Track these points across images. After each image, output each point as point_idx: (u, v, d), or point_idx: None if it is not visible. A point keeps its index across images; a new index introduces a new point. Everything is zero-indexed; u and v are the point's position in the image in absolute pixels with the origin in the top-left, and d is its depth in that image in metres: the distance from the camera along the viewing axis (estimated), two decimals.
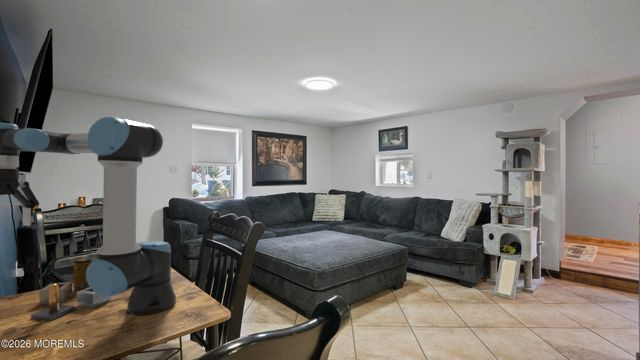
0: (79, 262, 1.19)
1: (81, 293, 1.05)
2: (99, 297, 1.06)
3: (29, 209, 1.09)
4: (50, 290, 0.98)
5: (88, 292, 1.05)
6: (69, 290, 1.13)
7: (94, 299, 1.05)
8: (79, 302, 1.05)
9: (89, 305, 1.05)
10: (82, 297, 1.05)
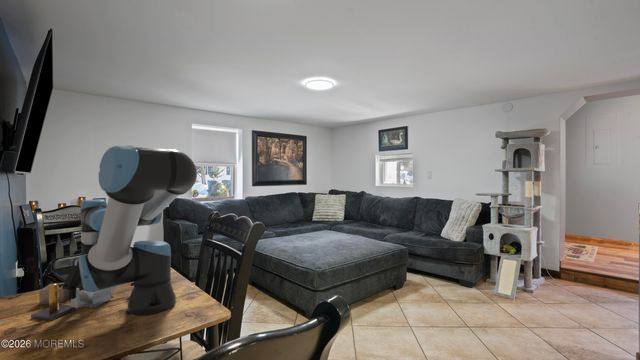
0: None
1: (81, 293, 1.05)
2: (99, 297, 1.06)
3: None
4: (50, 290, 0.98)
5: (88, 292, 1.05)
6: None
7: (94, 299, 1.05)
8: None
9: (89, 305, 1.05)
10: (82, 297, 1.05)
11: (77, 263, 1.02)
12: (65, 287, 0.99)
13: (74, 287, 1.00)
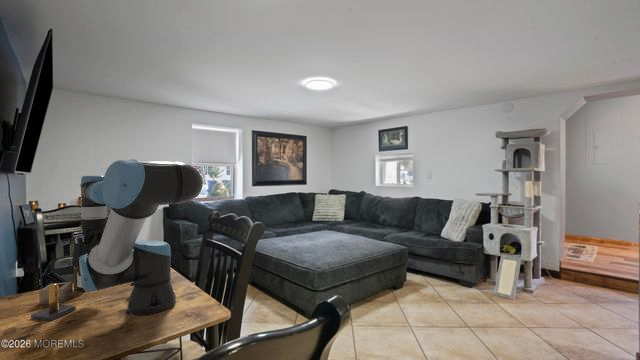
0: None
1: None
2: None
3: None
4: (50, 290, 0.98)
5: None
6: (69, 290, 1.13)
7: None
8: (79, 283, 1.05)
9: None
10: None
11: (77, 241, 1.01)
12: (75, 265, 1.01)
13: None
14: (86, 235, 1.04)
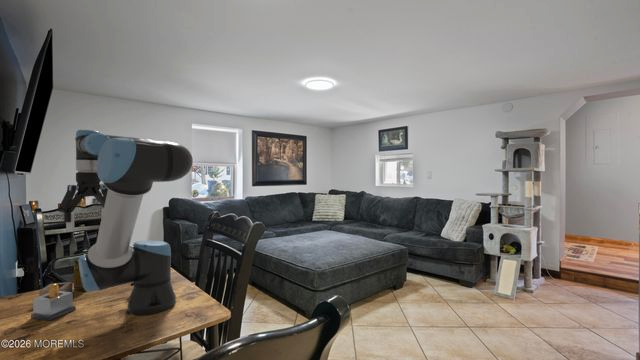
0: None
1: (38, 300, 0.96)
2: (57, 304, 0.98)
3: None
4: (50, 290, 0.98)
5: (45, 299, 0.97)
6: (69, 290, 1.13)
7: (52, 306, 0.96)
8: (35, 310, 0.97)
9: (46, 313, 0.96)
10: (39, 304, 0.96)
11: (71, 188, 1.05)
12: (60, 209, 1.02)
13: (69, 211, 1.04)
14: (81, 186, 1.08)
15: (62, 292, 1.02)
